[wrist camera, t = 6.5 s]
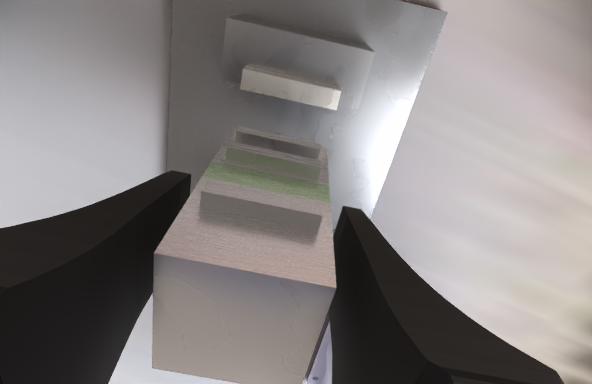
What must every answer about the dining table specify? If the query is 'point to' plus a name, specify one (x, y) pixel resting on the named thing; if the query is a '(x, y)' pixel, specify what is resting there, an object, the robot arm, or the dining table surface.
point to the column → (247, 264)
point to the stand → (299, 82)
